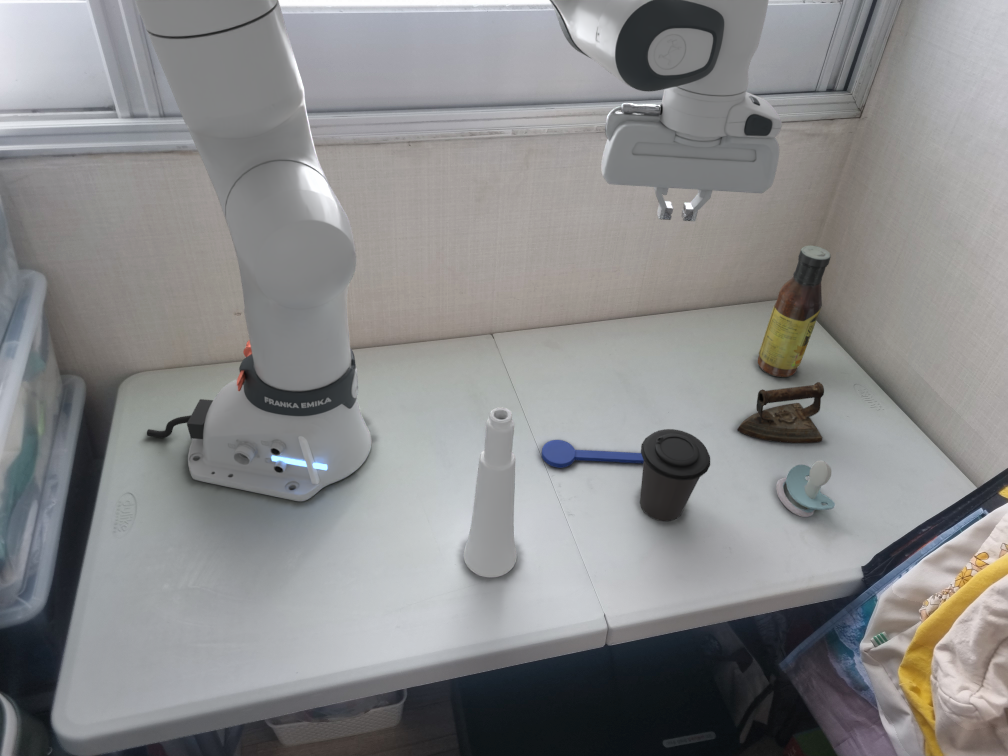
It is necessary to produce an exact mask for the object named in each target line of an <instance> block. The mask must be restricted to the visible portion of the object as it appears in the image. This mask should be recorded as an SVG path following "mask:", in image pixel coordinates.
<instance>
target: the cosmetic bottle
mask: <svg viewBox="0 0 1008 756" xmlns="http://www.w3.org/2000/svg"><path fill="white" fill-rule="evenodd" d="M484 433H485V434H484V436H485V437H484V449H483V450H482V451H481V452H480V455H479V458H478V467H477V475H476V482H475V491H474V499H473V500H474V501H473V507H472V515H471V520H470V521H471V523H470V527H469V532H468V535H467V540H466V544H465V547H464V549H463V561H464V563H465V565H466V567H467V568H468V569H469V570H470V571H471V572H473V573H474V574H475V575H477V576H480V577H483V578H490V579H491V578H492V579H493V578H498V577H502V576H504V575H506V574H507V573H509V572H510V571H511V570H513V568H514V566H515V565H516V563H517V557H518V553H517V549H516V541H515V494H516V493H515V491H516V490H515V489H516V456H515V454H514V452H513V447H514V445H513V444H514V435H515V434H514V433H515V422H514V419H513V413H512V410H510V409H509V408H507V407H502V406H501V407H500V406H498V407H495V408H492V409H491V410H490V411H489V413H488V418H487V420H486V422H485V432H484Z"/></svg>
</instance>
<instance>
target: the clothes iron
mask: <svg viewBox="0 0 1008 756" xmlns="http://www.w3.org/2000/svg"><path fill="white" fill-rule="evenodd" d="M824 394H825V388H824V385H823V383H822V382H820V381H816V382H815V383H814V384H810V385H803V386H793V387H785V388H778V389H769V390H765V389H762V388H761V389H760V390H759V391H758V392H757V398H756V406H755V409H756V413H753V414H751V415H750V416H747V418H745V419H744V420H743V421H742V422H741V423H740V425H739V426H738V427H737V429H736V430H737V431H738V432H739V433H741V434H743V435H746V436H749V437H750V438H751V437H752V438H756V439H758V440H763V441H767V442H775V443H784V444H814V443H815V444H816V443H821V442H823V436H822V435H821V433H820V431H819V429H818V428H817V426H816V424H815V423H814V422H813V420H812V419H811V417H813V416H815V415H816V414H818V413H819V412H820V410H821V403H822V398H823V396H824ZM808 399H813V402H812V403H811V404H810V405H807V406H806V407H803V406H802V404H801V403H800V402H793V403H787V404H782V405H777V406H773V407H770V408H766V409H764V407H765V406H767V405H768V404H774V403H782V402H789V401H790V402H791V401H798V400H808Z"/></svg>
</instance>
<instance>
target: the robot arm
mask: <svg viewBox="0 0 1008 756" xmlns="http://www.w3.org/2000/svg"><path fill="white" fill-rule="evenodd" d="M134 1H135V4H136V7H137V10H138V13H139V15H140V17H141V19H142V22H143V25H144V28H145V30H146V32H147V34H148V37H149V40H150V42H151V44H152V47H153V49H154V51H155V54H156V56H157V59H158V60H159V63H160V66H161V69H162V71H163V74H164V76H165V78H166V80H167V83H168V85H169V88H170V90H171V92H172V95H173V98H174V100H175V102H176V105H177V107H178V110H179V113H180V114H181V117H182V119H183V122H184V124H185V125H186V127H187V130H188V133H189V134H190V136H191V139H192V141H193V142H194V145H195V147H196V150H197V152H198V154H199V156H200V158H201V161H202V164H203V166H204V168H205V170H206V173H207V175H208V178H209V180H210V182H211V185H212V187H213V189H214V192H215V194H216V196H217V200H218V203H219V205H220V208H221V211H222V214H223V216H224V220H225V222H226V226H227V228H228V231H229V235H230V238H231V242H232V245H233V248H234V251H235V255H236V259H237V265H238V269H239V276H240V283H241V289H242V296H243V314H244V321H245V324H246V330H247V334H248V341H246V343H245V348H244V349H243V351H242V353H243V355H244V357H245V358H243V360H241V363H240V365H239V367H238V370H239V374H238V376H237V378H235V379H233V380H231V381H229V382H228V383H226V384H225V385H223V387H222V388H221V389H220V390H219V391H218V392H217V393H216V395H215V397H214V398H213V399H204V398H203V399H202V398H200V399H199V400H198V402H197V404H196V405H195V408H194V409H193V411H192V413H191V414H189V415H184V416H178V417H176V418H173V419H171V420H170V421H168V422H167V424H166V426H165V429H164V430H156V429H149V428H148V429H147V431H146V436H147V437H154V438H158V439H159V438H160V439H163V438H168V437H169V436H170V435H172V433H173V431H174V427H176V426H179V425H182V424H186V426H187V430H188V434H189V438H190V439H191V442H190V445H189V449H188V453H187V465H188V471H189V474H190V477H191V478H192V480H194V481H197V482H202V483H207V484H212V485H216V486H222V487H226V488H232V489H237V490H242V491H246V492H250V493H256V494H260V495H266V496H270V497H276V498H279V499H285V500H288V501H289V500H290V501H295V502H306V501H307V500H309V499H311V498H313V497H314V496H315V495H316V494H318V493H319V492H320V491H321V490H322V489H323V488H325V487H327V486H329V485H331V484H334V483H337V482H339V481H342V480H343V479H346V478H347V477H349V476H351V474H353V473H355V472H356V471H357V470H359V468H360V467H361V466H362V465H363V464H364V463H365V462H366V460H367V458H368V457H369V455H370V452H371V450H372V443H373V441H372V435H371V432H370V430H369V427H368V426H367V424H366V422H365V419H364V417H363V414H362V411H361V408H360V407H361V406H360V403H359V399H358V395H359V375H358V367H357V363H356V358H355V354H354V351H353V349H352V348H351V340H350V327H349V317H348V294H349V288H350V287H349V286H350V284H351V282H352V280H353V278H354V275H355V272H356V269H357V252H356V251H357V250H356V244H355V237H354V232H353V228H352V224H351V220H350V218H349V217H348V215H347V212H346V211H345V210H344V207H343V206H342V204H341V202H340V200H339V199H338V196H337V195H336V193H335V191H334V190H333V187H332V186H331V184H330V182H329V180H328V178H327V176H326V174H325V171H324V169H323V168H322V165H321V163H320V159H319V157H318V154H317V152H316V146H315V142H314V139H313V135H312V130H311V126H310V125H311V124H310V122H309V116H308V111H307V106H306V98H305V97H306V96H305V94H306V93H305V87H304V84H303V81H302V80H303V79H302V77H301V74H300V71H299V67H298V64H297V60H296V56H295V53H294V50H293V46H292V43H291V39H290V36H289V33H288V29H287V26H286V22H285V19H284V14H283V12H282V9H281V4H280V1H279V0H134ZM769 1H770V0H549V2H550V4H551V6H552V8H553V10H554V14H555V16H556V18H557V21H558V24H559V26H560V29H561V32H562V34H563V36H564V38H565V40H566V41H567V42H568V43H569V45H570V46H571V47H572V48H573V50H575V51H577V52H579V53H580V54H581V55H584V56H586V57H587V58H590V59H591V60H593V61H594V62H595V63H597V64H598V66H601V67H602V68H603V69H604V70H606V71H607V72H608V73H610V74H611V75H612V76H614V77H615V78H616V79H618V80H619V81H621V82H622V83H623V84H625V85H627V86H628V87H630V88H633V89H634V90H637V91H641V92H647V93H648V92H658V91H662V90H663V94H662V100H661V104H651V103H648V104H646V103H645V104H636V103H633V102H624V103H621V106H617V107H613V109H611V110H610V112H608V114H607V116H606V118H605V119H606V120H605V126H604V135H605V138H606V142H605V145H604V149H603V153H602V157H601V161H600V170H601V171H600V172H601V175H602V177H603V179H604V180H605V182H606V184H608V185H613V186H615V185H616V186H629V187H630V186H632V187H646V188H647V187H648V188H653V191H654V195H655V197H656V199H657V201H658V202H657V203H658V207H657V211H656V212H657V214H656V215H657V219H658V220H666V221H671V220H672V217H673V216H672V214H673V212H674V206H673V203H672V201H669V200H665V197H664V196H667V195H668V192H669V189H679V190H680V189H681V190H696V191H697V194H696V195H695V196H694V197H693V199H692V200H691V201H690V202H683V204H682V208H683V209H682V210H681V218H682V221H683V222H696V221H697V216H698V212H699V210H701V209H702V208H703V206H705V204H707V202H709V200H710V199H711V198H712V195H713V191H714V192H715V191H716V192H729V193H730V192H733V193H746V194H765V192H767V191H768V190H769V189H770V188H771V187H772V186H773V184H774V181H775V178H776V173H777V169H778V164H779V158H780V144H779V141H778V140H777V139H776V137H778V135H779V134H780V132H781V131H782V130H781V129H782V126H783V121H782V119H781V117H780V115H779V113H778V112H777V110H776V109H775V108H774V107H773V105H772V104H771V103H770V102H769V101H768V100H766V99H765V98H762V97H760V96H757V95H755V94H753V93H750V92H748V87H749V70H750V69H749V68H750V64H751V62H752V59H753V57H754V56H755V54H756V52H757V50H758V47H759V46H760V45H759V44H760V41H761V37H762V33H763V29H764V25H765V21H766V16H767V12H768V5H769Z"/></svg>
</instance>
